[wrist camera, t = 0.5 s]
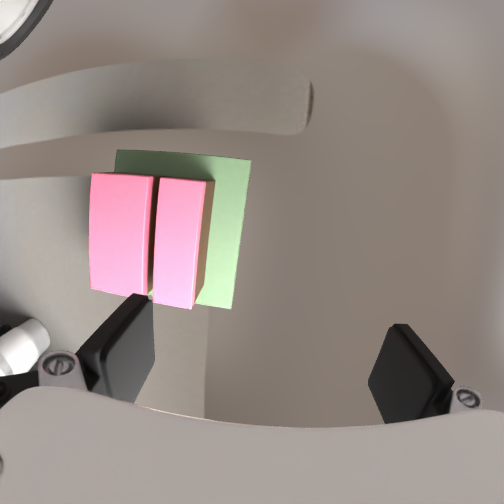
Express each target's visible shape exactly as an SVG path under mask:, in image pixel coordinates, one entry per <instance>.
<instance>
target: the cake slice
mask: <svg viewBox="0 0 504 504" xmlns="http://www.w3.org/2000/svg"><path fill="white" fill-rule="evenodd" d="M215 183H216V181H215V180H207V179H198V178H188V177H161V178H160V183H159V193H158V203H157V215H156V229H155V246H154V270H153V302H155V303H160V304H165V305H170V306H176V307H181V308H186V309H192V307H193V305H194V303H195V301H196V299H197V297H198V295H199V293H200V291H201V290H202V288H203V286H204V281H205V270H206V260H207V250H208V241H209V232H210V223H211V215H212V206H213V198H214V190H215Z"/></svg>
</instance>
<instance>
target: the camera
mask: <svg viewBox="0 0 504 504" xmlns="http://www.w3.org/2000/svg"><path fill="white" fill-rule="evenodd" d="M10 330H12V329H11V328H10V327H9V326H8V325H4V326H2V327H1V328H0V337H1V336H2V335H4V334H5V333H7V332H9V331H10Z"/></svg>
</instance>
